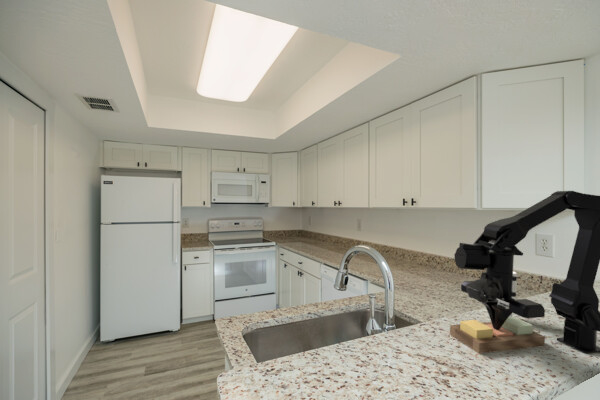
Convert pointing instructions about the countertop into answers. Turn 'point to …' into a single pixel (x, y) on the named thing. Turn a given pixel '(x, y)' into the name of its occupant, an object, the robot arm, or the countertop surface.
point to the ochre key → (476, 329)
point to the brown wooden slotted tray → (497, 340)
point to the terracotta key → (500, 331)
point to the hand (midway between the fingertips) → (496, 329)
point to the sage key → (518, 326)
